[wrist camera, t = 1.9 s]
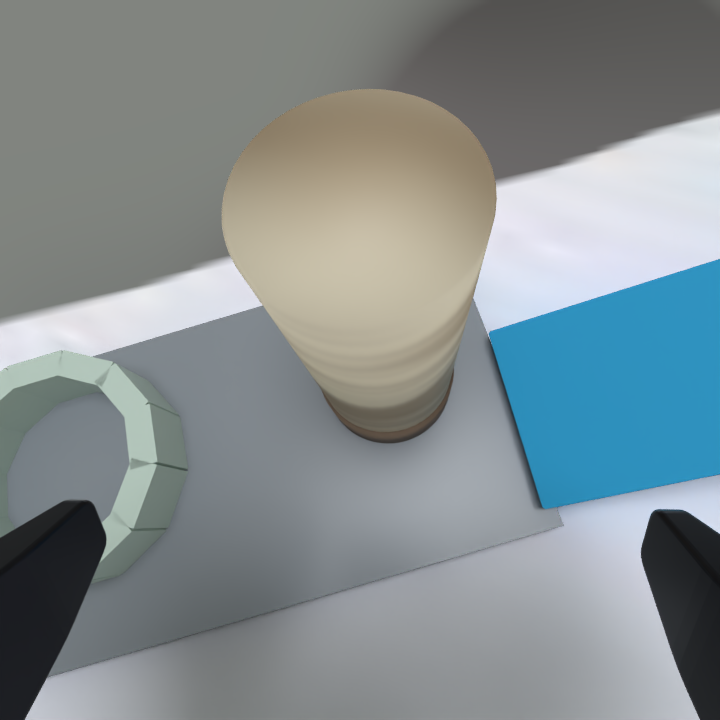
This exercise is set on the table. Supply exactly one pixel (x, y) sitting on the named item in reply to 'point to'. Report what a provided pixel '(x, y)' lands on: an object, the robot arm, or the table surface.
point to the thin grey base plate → (248, 478)
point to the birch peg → (366, 248)
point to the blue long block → (619, 388)
